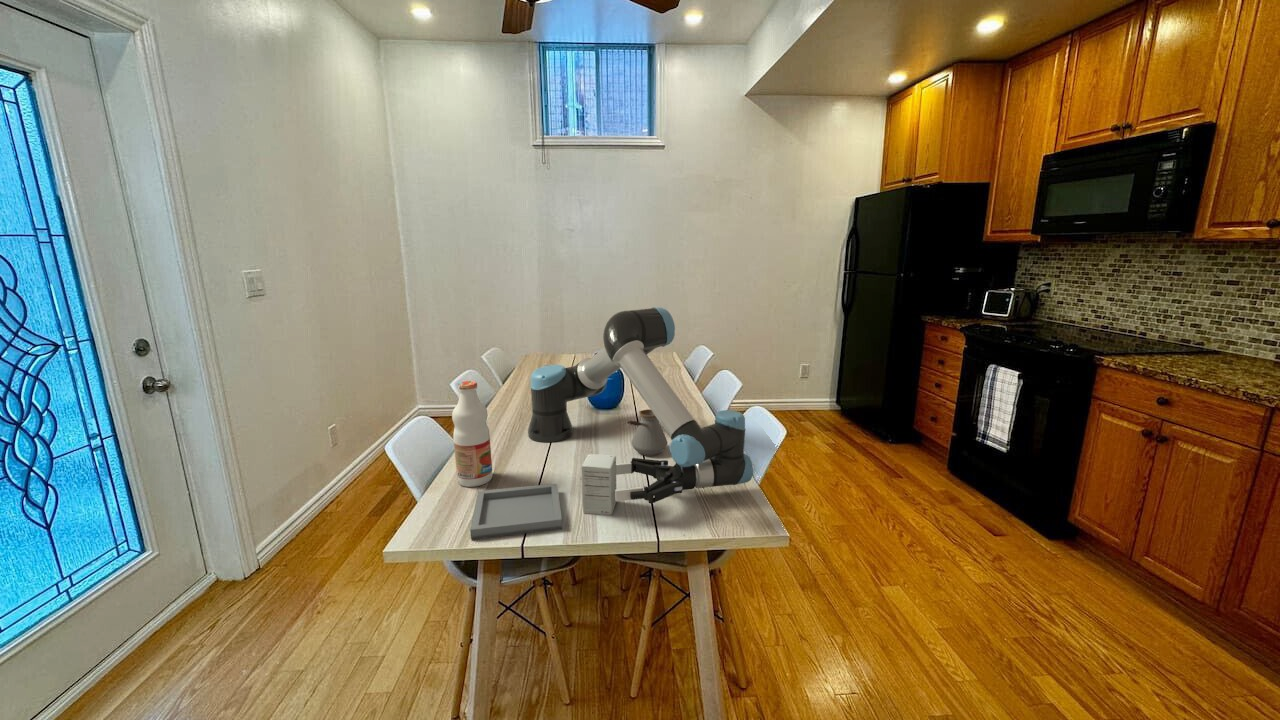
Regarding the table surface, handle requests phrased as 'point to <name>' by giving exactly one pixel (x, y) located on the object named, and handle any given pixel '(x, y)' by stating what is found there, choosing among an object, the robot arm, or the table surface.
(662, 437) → the coffee pot
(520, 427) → the table surface
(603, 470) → the supplement box
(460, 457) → the fruit juice
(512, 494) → the tray
